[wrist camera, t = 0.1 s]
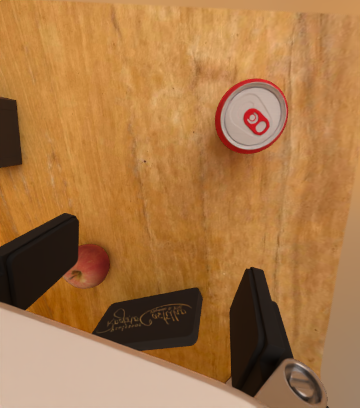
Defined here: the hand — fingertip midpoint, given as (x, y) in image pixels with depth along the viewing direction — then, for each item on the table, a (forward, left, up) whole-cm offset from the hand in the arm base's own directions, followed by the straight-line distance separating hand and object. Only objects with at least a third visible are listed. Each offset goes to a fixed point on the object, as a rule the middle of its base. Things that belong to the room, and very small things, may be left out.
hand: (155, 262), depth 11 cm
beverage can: (-9, +4, -22) cm, 24 cm away
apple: (+20, -16, -22) cm, 34 cm away
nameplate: (+27, -3, -22) cm, 36 cm away
